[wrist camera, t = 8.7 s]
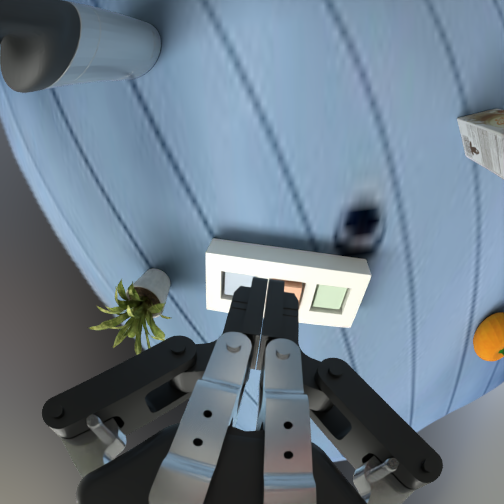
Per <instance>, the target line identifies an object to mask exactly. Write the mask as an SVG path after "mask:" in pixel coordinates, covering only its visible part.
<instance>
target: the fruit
mask: <svg viewBox="0 0 504 504" xmlns="http://www.w3.org/2000/svg"><path fill="white" fill-rule="evenodd" d="M473 344H474V350H475V352H476V354H477V355H478V356H479V357H480V358H481V359H483V360H486V361H496V360H499V359H500V358H502V357H504V313H503V312H500V313H495V314H493V315H491V316H489V317H487V318H486V319H485V320H484V321H483V322H482V323H481V324H480V325H479V327H478V328H477V330H476V332H475V335H474V338H473Z"/></svg>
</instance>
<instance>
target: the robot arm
mask: <svg viewBox="0 0 504 504" xmlns="http://www.w3.org/2000/svg"><path fill="white" fill-rule="evenodd" d="M0 44H1V50H0V65H1V71H2V75H3V78H4V80H5V82H6V83H7V85H8V86H9V87H10V88H11V89H13V90H14V91H17V92H22V93H26V92H33V91H38V90H42V89H48V88H54V87H60V86H66V85H73V84H81V83H91V82H102V81H118V80H132V79H136V78H139V77H140V76H142V75H144V74H145V73H147V72H148V71H149V70H150V69H151V68H152V67H153V65H154V64H155V62H156V61H157V59H158V56H159V54H160V49H161V39H160V35H159V33H158V31H157V29H156V28H155V27H154V26H153V25H151V24H149V23H147V22H144V21H141V20H138V19H135V18H132V17H129V16H126V15H123V14H119V13H116V12H112V11H109V10H105V9H101V8H97V7H93V6H88V5H84V4H79V3H74V2H68V1H63V0H0ZM267 284H268V279H266V278H258V277H253V279H252V284H251V287H245V286H240V287H239V288H238V289H237V290H236V291H235V292H234V294H233V298H232V302H231V305H230V309H229V313H228V316H227V320H226V324H225V327H224V331H223V334H222V335H221V336H220V337H219V338H218V339H217V340H215V341H213V342H211V343H206V344H195V343H194V342H193V341H192V340H191V339H190V338H188V337H185V336H173V337H170V338H168V339H166V340H164V341H162V342H161V343H159V344H157V345H155V346H153V347H151V348H149V349H147V350H146V351H144V352H142V353H140V354H138V355H136V356H134V357H132V358H130V359H128V360H127V361H124V362H123V363H121V364H119V365H117V366H115V367H113V368H111V369H109V370H107V371H105V372H103V373H101V374H99V375H97V376H95V377H93V378H91V379H89V380H87V381H85V382H83V383H81V384H79V385H77V386H75V387H73V388H71V389H69V390H67V391H65V392H63V393H60V394H58V395H57V396H54V397H52V398H50V399H49V400H48V401H47V402H46V403H45V404H44V406H43V409H42V417H43V420H44V422H45V423H46V424H47V425H48V426H49V427H50V428H51V429H52V430H53V431H54V432H55V433H56V434H57V435H58V436H59V437H60V438H61V439H62V441H63V443H64V445H65V447H66V449H67V451H68V453H69V455H70V457H71V459H72V460H73V462H74V464H75V465H76V468H77V469H78V471H79V473H80V475H81V476H82V478H83V479H82V480H81V482H80V483H79V485H78V488H77V492H76V502H77V504H402V503H403V502H404V501H405V500H406V498H408V497H409V496H410V495H411V494H412V493H413V491H414V490H416V489H418V488H420V487H423V486H425V485H427V484H429V483H431V482H433V481H434V480H436V479H437V478H438V477H439V476H440V474H441V471H442V468H443V464H442V459H441V457H440V456H439V455H438V454H437V453H436V452H435V450H434V449H432V448H431V447H430V446H429V445H428V444H427V443H426V442H425V441H424V440H423V439H422V438H421V437H420V436H419V435H418V434H417V433H416V432H415V431H414V430H413V429H412V428H411V427H410V426H409V425H408V424H407V423H406V422H405V421H404V420H403V419H402V418H401V417H400V416H399V415H398V414H397V413H396V412H395V411H394V410H393V409H392V408H391V407H390V406H389V405H388V404H387V403H386V402H385V401H384V400H383V399H382V398H381V397H380V396H379V395H378V394H377V393H376V392H375V391H374V390H373V389H372V388H371V387H370V386H369V385H368V384H367V383H366V382H365V381H364V380H363V379H362V378H361V377H360V376H359V375H358V374H357V373H356V372H355V371H354V370H353V369H352V368H351V367H350V366H349V365H348V364H347V363H346V362H345V361H343V360H341V359H338V358H328V359H325V360H323V361H322V362H320V361H318V360H315V359H312V358H310V357H308V356H307V355H305V354H304V353H303V352H302V351H301V349H300V347H299V344H298V323H299V318H298V316H299V311H298V310H299V301H298V299H297V297H296V296H295V294H294V293H289V292H284V285H285V281H281V280H273V279H269V285H268V292H267V298H266V291H267ZM265 298H266V305H265ZM264 306H265V312H264ZM263 313H264V319H263ZM262 320H263V326H262ZM261 327H262V333H261ZM260 334H261V341H260ZM259 341H260V348H259V355H258V362H257V369H256V370H261V374H260V381H259V386H258V408H257V424H256V431H243V430H240V429H237V428H235V426H236V421H237V417H238V413H239V410H240V406H241V402H242V399H243V395H244V391H245V388H246V383H247V381H248V379H249V374H250V369H255V365H256V359H257V353H258V347H259ZM189 398H190V400H189V402H188V405H187V407H186V410H185V412H184V415H183V417H182V420H181V422H180V423H177V424H174V425H171V426H168V427H166V428H164V429H163V430H161V431H159V432H158V433H156V434H155V435H153V436H152V437H150V438H148V439H147V440H145V441H144V442H142V443H141V444H139V445H137V446H136V447H134V448H133V449H131V450H129V451H127V452H126V453H124V454H122V455H121V456H119V457H117V458H115V457H116V456H117V455H118V454H119V453H120V452H122V451H123V449H124V448H125V446H126V436H127V435H128V434H130V433H132V432H134V431H136V430H137V429H139V428H141V427H143V426H145V425H146V424H148V423H150V422H151V421H153V420H155V419H156V418H158V417H160V416H161V415H163V414H165V413H167V412H168V411H170V410H171V409H173V408H175V407H176V406H178V405H180V404H181V403H183V402H184V401H186V400H187V399H189ZM310 418H311V419H312V420H313V421H314V423H315V424H316V425H317V426H318V427H319V428H320V430H321V431H322V432H323V433H324V434H325V435H326V437H327V438H328V439H329V440H330V441H331V442H332V443H333V445H334V446H335V447H336V448H337V449H338V450H339V451H340V453H341V454H342V455H343V456H344V457H345V458H346V459H347V460H348V461H349V462H350V464H351V465H352V466H353V467H354V468H355V469H356V471H355V473H354V476H353V481H354V484H355V486H356V487H357V489H358V491H359V493H358V492H357V491H356V490H355V489H354V487H353V486H352V485H351V484H350V483H349V482H348V480H347V479H346V478H345V477H344V476H343V474H342V473H341V472H340V471H339V470H338V468H337V467H336V466H335V465H334V463H333V462H332V461H331V460H330V458H329V457H328V456H327V455H326V453H325V452H324V451H323V450H322V449H321V448H320V447H318V446H317V445H315V444H314V443H312V442H311V429H310ZM114 458H115V459H114Z"/></svg>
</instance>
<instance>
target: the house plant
mask: <svg viewBox="0 0 504 504" xmlns="http://www.w3.org/2000/svg"><path fill="white" fill-rule="evenodd" d="M170 284H171V283H170V279H169V277H168V276H167V275H166V274H165V273H164V272H163V271H161V270H159V269H154V268H153V269H149V270H147V271H146V272H145V273H144V274H143V275H142V276H141V277H140V278H139V279H138V280H137V281H136V282H135V283H134V284H133V282H132V284H131V285H130V286H129V288H128V289H127V291H126V293H125V290H124V287H123V285H122V279H121V281H120V283H119V284H118V287H117V288H116V292H115V300H116V302H117V304H118V305H119V307H114V308H108V307H107V308H108V309H109V310H110V311H107V310H104V309H102V308H100V307H98V308H99V309H100V310H101V311H103V312H105V313H110V314H117V315H120V316H118V317H116V318H114V319H111V320H108V321H105V322H103V323H101V324H100V325H98V326H94V327H91V328H90V329H93V330H104V329H107V328H112V329H121V328H122V329H121V330H120V332H119V333H118V335H117V337H116V339H115V342H114V346H113V347H115V346H116V345H118V344H119V343H121V342H122V341H123V339H124V338H125V337H126V336H127V335H128V337H131V338H133V337H134V336H135V334H136V340H135V352H136V354H137V355H138V354H140V353H141V347H142V346H141V331H142V324H143V327H144V329H145V334H146V339H147V345H148V349H149V348H150V343H149V339H148V334H149V333H148V330H147V327H146V320H147V323H148V325H149V326H150V328H151V331H152V333H153V334H154V336H155V337H153V336H151V335H150V334H149V335H150V336H151V337H152V338H154V339H157V340H163V341H164V339H162V338H164V337H165V334H164V333H163V332H162V331H161V330H160V329H159V328H158V327H157V326H156V325H155V322H154V320H153V318H155V317H158V316H161V317H162V318H166V319H170V317H166V316H163V315H161V314H162V312H163V310H164V306H165V303H166V299H167V295H168V292H169V288H170ZM117 289H118V293H119V295H120V296H121V298H123V299H124V300H127V301H120V300H118V299H117ZM131 308H132V309H131ZM126 309H127V312H125V311H124V310H126ZM122 311H124V312H125V313H123V314H120V313H122ZM129 317H131V318H130V319H129V320H128V321H127V322H126V324H125V325H124V326H121V327H114V326H116V325H119V324H120V323H122V322H123V321H124V320H126V319H128V318H129ZM129 327H130V328H129ZM128 328H129V329H128ZM125 332H126V333H125ZM124 333H125V334H124ZM147 333H148V334H147ZM156 337H157V338H156Z"/></svg>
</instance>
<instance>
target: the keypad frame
mask: <svg viewBox="0 0 504 504" xmlns="http://www.w3.org/2000/svg"><path fill="white" fill-rule="evenodd" d="M225 272H231V273H238V274H245V275H252V276H256V277H258V278H266V279H268V284H267V291H266V298H267V292H268V285H269V279H272V278H274V279H281V280H288V281H296V282H302V291H301V295H300V299H299V310H298V311H299V316H298V318H299V323H308V324H317V325H326V326H336V327H347V328H350V327H351V325H352V322H353V320H354V318H355V315H356V313H357V311H358V308H359V306H360V303H361V301H362V299H363V296H364V294H365V291H366V288H367V286H368V283H369V281H370V278H371V272H370V269H369V267H368V264H367V261H366V259H360V258H353V257H346V256H339V255H332V254H325V253H318V252H311V251H303V250H296V249H289V248H282V247H275V246H267V245H260V244H253V243H245V242H238V241H230V240H223V239H215V238H213V239H212V241H211V243H210V245H209V247H208V249H207V251H206V305H207V309H209V310H215V311H221V312H227V313H229V309H230V305H231V302H232V298H233V295H226V294H225ZM317 284H319V285H327V286H335V287H343V288H347V290H346V293H345V296H344V298H343V301H342V304H341V307H340V309H331V308H322V307H313V296H314V293H315V289H316V285H317ZM266 298H265V305H266ZM264 312H265V306H264ZM263 318H264V313H263Z"/></svg>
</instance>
